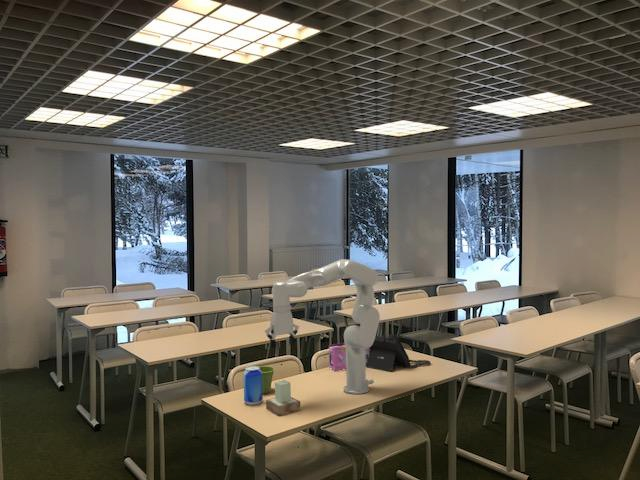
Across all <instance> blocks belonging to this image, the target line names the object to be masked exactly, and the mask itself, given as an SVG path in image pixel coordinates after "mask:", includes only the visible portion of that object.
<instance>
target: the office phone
mask: <svg viewBox="0 0 640 480" xmlns="http://www.w3.org/2000/svg"><path fill="white" fill-rule="evenodd" d="M411 363H414V364H411ZM394 365H398V366H404V367H406V368H412V369H413V368H417V367H421V366H429V365H431V361H430V360H427V359H418V360H415V359H410V357H409V355H408V353H407V352H406V350H405V348H404V346H403V344H402V342H401V340H400V339H399V338H398V336H397V335H396V334H393V333H391V334H388V337H384V336H379V335H376V336H375V340H374V342H373V344H372V346H371V347H370V348H369V357H368V359H367V363H366V366H367V367H366V368H370V369H371V368H372V369H377V370H381V371H387V372H389V373H390V372H391V373H392V371H393V368H394Z"/></svg>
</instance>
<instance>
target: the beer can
mask: <svg viewBox="0 0 640 480" xmlns="http://www.w3.org/2000/svg"><path fill="white" fill-rule="evenodd" d="M243 400H244V402H245V404H246V405H248V406H256V405H259V404H261V403H262V401H263V400H264V399H263V394H262V372H261V370H260V367H258V366H256V365H254V366H253V365H252V366H251V365H250V366H247V367H245V369H244V372H243Z"/></svg>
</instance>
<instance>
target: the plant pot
mask: <svg viewBox="0 0 640 480" xmlns="http://www.w3.org/2000/svg"><path fill="white" fill-rule="evenodd" d="M258 367H260V370H261V372H262V395H264V394H268V393H269V392H271V389H272V381H273V376H274V372H275V370H276V369H275V367H274V366H269V365H261V366H258Z"/></svg>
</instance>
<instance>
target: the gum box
mask: <svg viewBox="0 0 640 480" xmlns="http://www.w3.org/2000/svg"><path fill="white" fill-rule="evenodd" d="M369 351H370V349H369V348H368V349H365V357H366V363H367V359H368V357H369ZM328 368H329V369H330V368H332V369H333V370H335V371H334V372H337V371H336V370H342V371H344V370H343V369H346V348H345V342H342V343H341V342H340V343H334V344H332V343H331V344H328ZM333 370H332V371H333Z"/></svg>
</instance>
